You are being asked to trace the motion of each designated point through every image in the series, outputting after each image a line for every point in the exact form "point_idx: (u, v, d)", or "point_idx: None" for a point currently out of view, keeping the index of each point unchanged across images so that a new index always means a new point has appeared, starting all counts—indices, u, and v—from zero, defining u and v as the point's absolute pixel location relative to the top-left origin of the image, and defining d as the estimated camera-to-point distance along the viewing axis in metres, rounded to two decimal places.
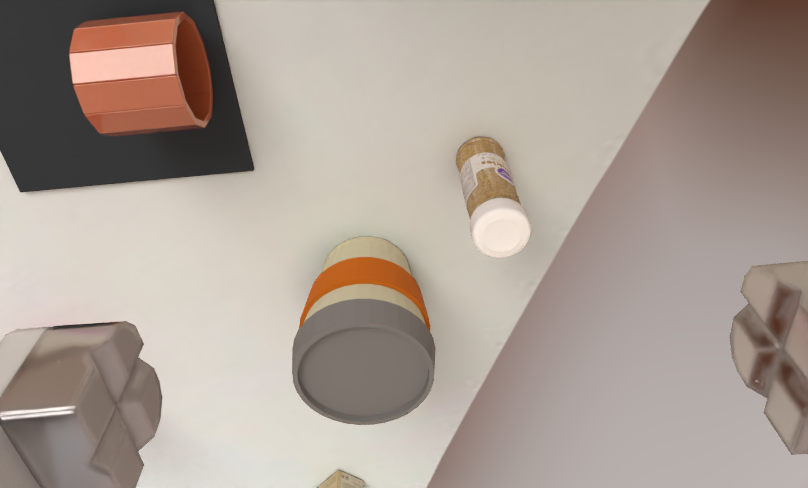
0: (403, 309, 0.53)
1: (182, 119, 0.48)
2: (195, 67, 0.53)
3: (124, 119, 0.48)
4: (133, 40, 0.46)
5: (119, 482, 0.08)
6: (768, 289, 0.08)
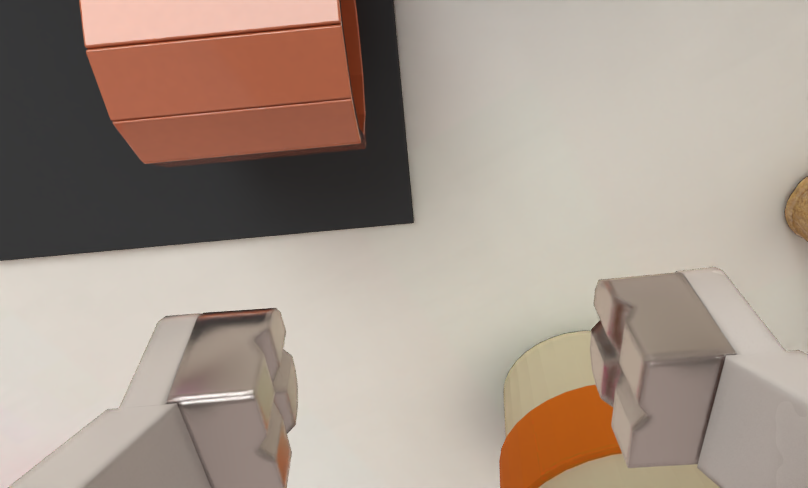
0: None
1: (335, 132, 0.21)
2: None
3: (203, 132, 0.20)
4: None
5: (280, 468, 0.08)
6: (607, 302, 0.08)
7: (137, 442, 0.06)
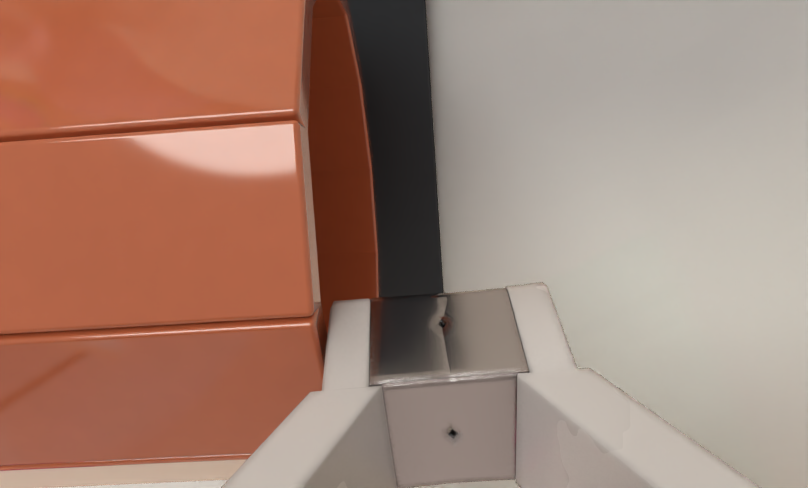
0: None
1: None
2: (325, 163, 0.15)
3: (23, 478, 0.09)
4: (54, 93, 0.07)
5: (463, 453, 0.08)
6: (432, 318, 0.08)
7: (354, 424, 0.06)
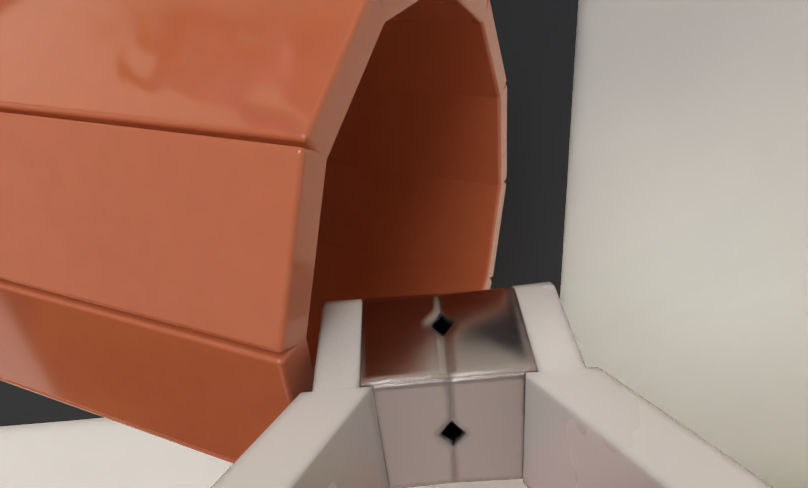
0: None
1: None
2: (453, 172, 0.14)
3: None
4: (120, 80, 0.08)
5: (454, 454, 0.08)
6: (439, 318, 0.08)
7: (345, 425, 0.06)
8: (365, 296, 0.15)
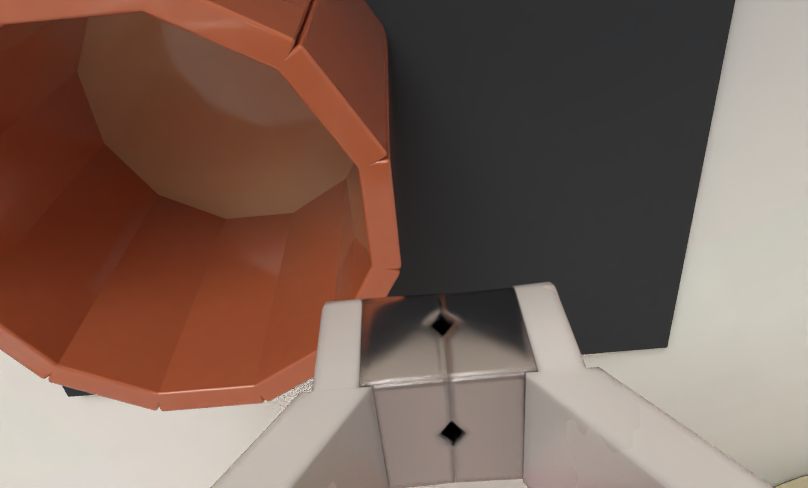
0: None
1: None
2: None
3: None
4: None
5: (454, 454, 0.08)
6: (439, 317, 0.08)
7: (344, 424, 0.06)
8: (301, 286, 0.15)
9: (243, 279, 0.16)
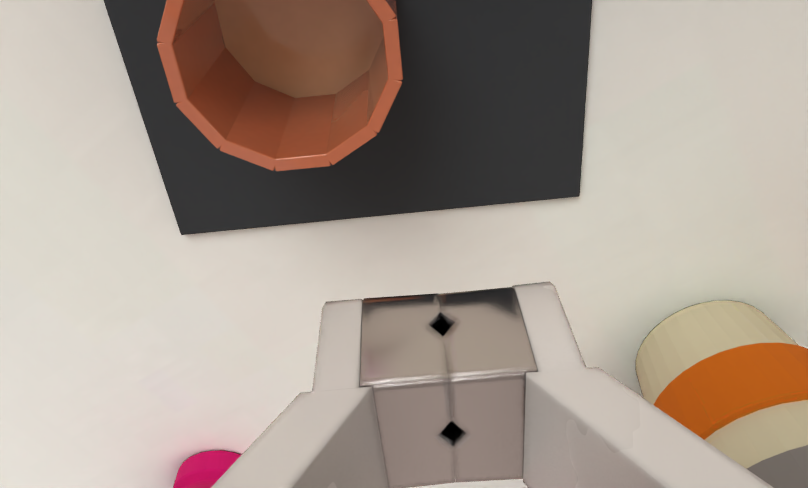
0: None
1: None
2: None
3: None
4: None
5: (454, 454, 0.08)
6: (439, 317, 0.08)
7: (344, 425, 0.06)
8: (347, 115, 0.27)
9: (311, 120, 0.28)
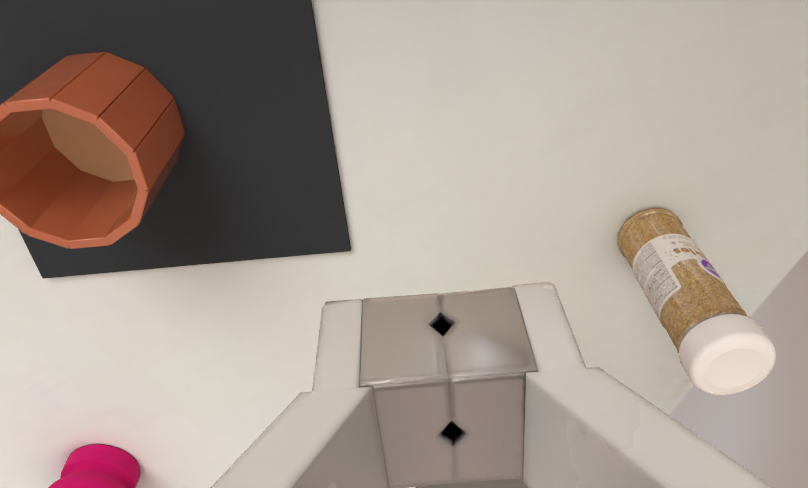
0: None
1: None
2: None
3: None
4: None
5: (454, 454, 0.08)
6: (439, 317, 0.08)
7: (344, 425, 0.06)
8: (131, 204, 0.37)
9: (112, 204, 0.38)
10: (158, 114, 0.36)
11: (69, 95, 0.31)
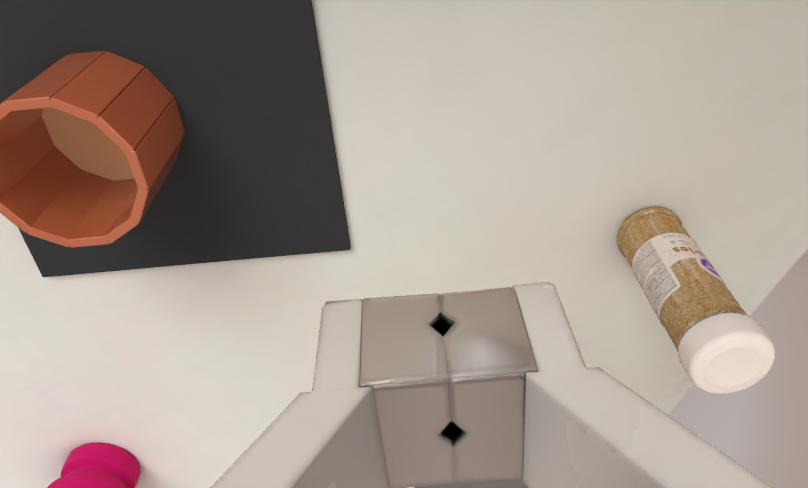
0: None
1: None
2: None
3: None
4: None
5: (454, 454, 0.08)
6: (439, 318, 0.08)
7: (344, 424, 0.06)
8: (131, 203, 0.37)
9: (112, 203, 0.38)
10: (158, 113, 0.36)
11: (69, 94, 0.31)
